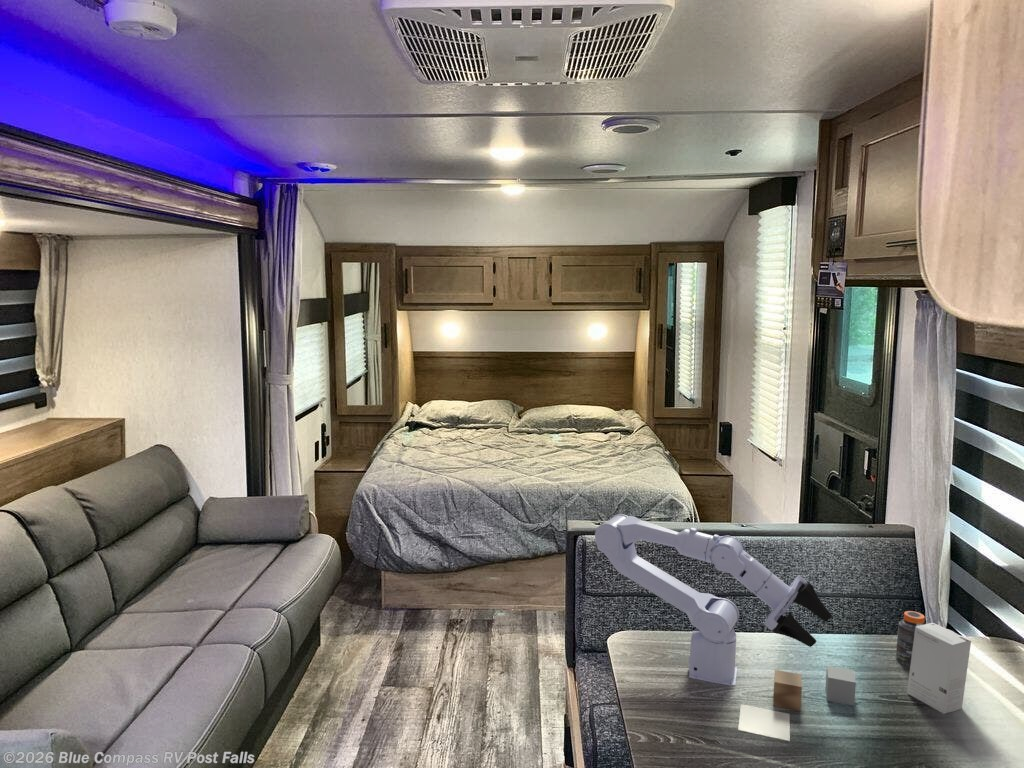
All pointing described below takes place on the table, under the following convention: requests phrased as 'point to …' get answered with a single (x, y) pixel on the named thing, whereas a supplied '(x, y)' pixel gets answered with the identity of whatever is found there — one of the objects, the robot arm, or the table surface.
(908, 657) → the pill bottle
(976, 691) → the table surface
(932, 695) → the skincare box
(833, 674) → the slate block
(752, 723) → the white square plate
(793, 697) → the walnut block
